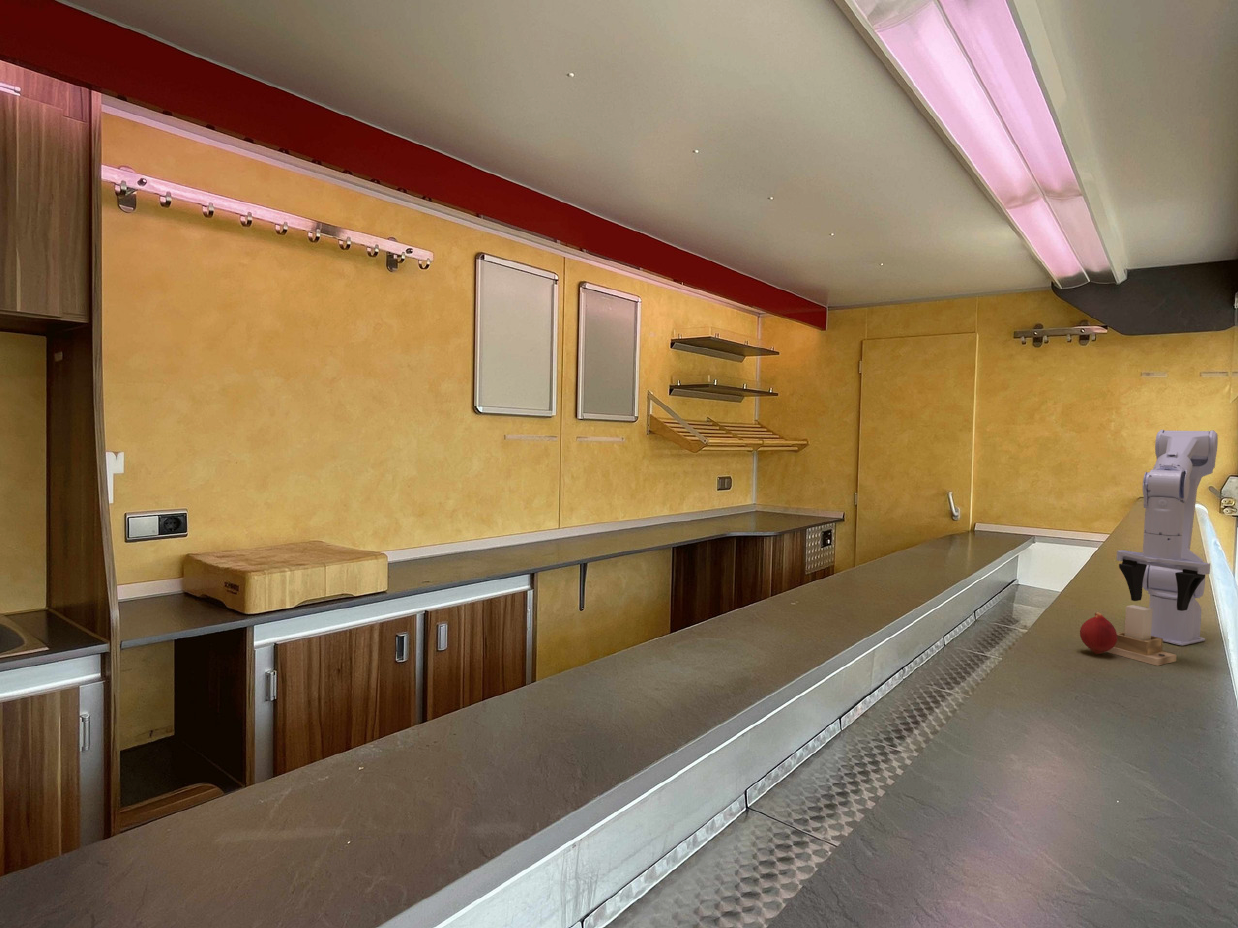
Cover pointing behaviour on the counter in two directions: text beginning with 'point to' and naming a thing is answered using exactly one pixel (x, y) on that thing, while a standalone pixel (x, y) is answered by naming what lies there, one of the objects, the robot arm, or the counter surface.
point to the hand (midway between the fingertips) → (1158, 605)
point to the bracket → (1142, 650)
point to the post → (1138, 622)
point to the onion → (1098, 634)
